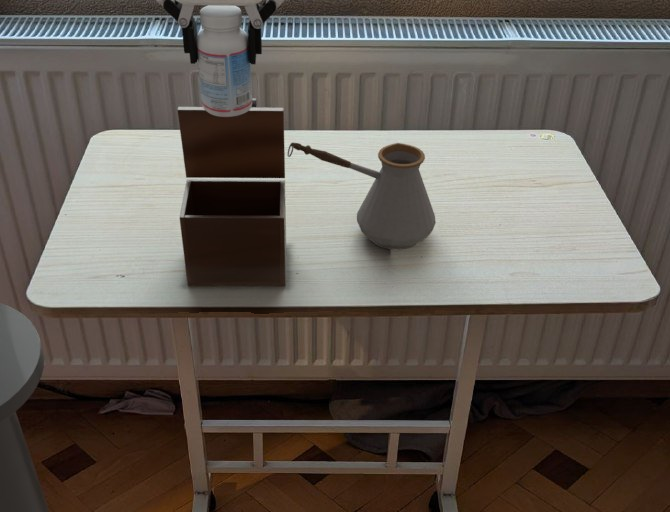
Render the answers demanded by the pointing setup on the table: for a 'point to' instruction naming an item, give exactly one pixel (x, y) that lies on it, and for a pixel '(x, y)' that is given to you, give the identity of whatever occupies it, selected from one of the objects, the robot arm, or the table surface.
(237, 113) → the pill bottle
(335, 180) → the table surface
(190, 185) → the chest
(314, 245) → the table surface
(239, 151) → the lid
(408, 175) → the coffee pot
